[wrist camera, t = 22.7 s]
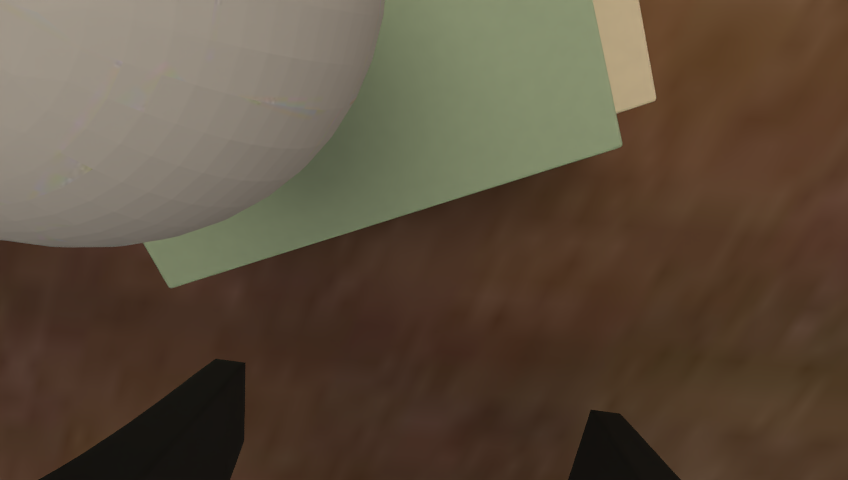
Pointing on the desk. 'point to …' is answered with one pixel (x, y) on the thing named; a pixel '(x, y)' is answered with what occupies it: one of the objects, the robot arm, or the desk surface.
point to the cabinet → (430, 127)
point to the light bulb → (166, 109)
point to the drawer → (625, 53)
